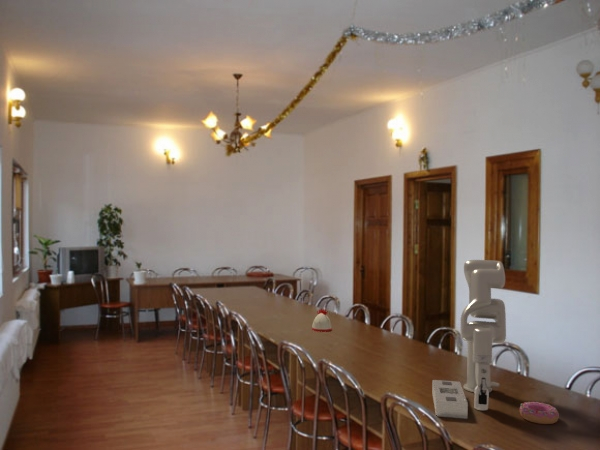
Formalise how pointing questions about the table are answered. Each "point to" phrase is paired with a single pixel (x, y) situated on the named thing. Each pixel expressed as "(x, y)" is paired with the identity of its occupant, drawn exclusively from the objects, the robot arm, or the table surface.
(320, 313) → the cream hat
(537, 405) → the donut
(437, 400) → the white block holder
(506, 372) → the table surface
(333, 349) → the table surface
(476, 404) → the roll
